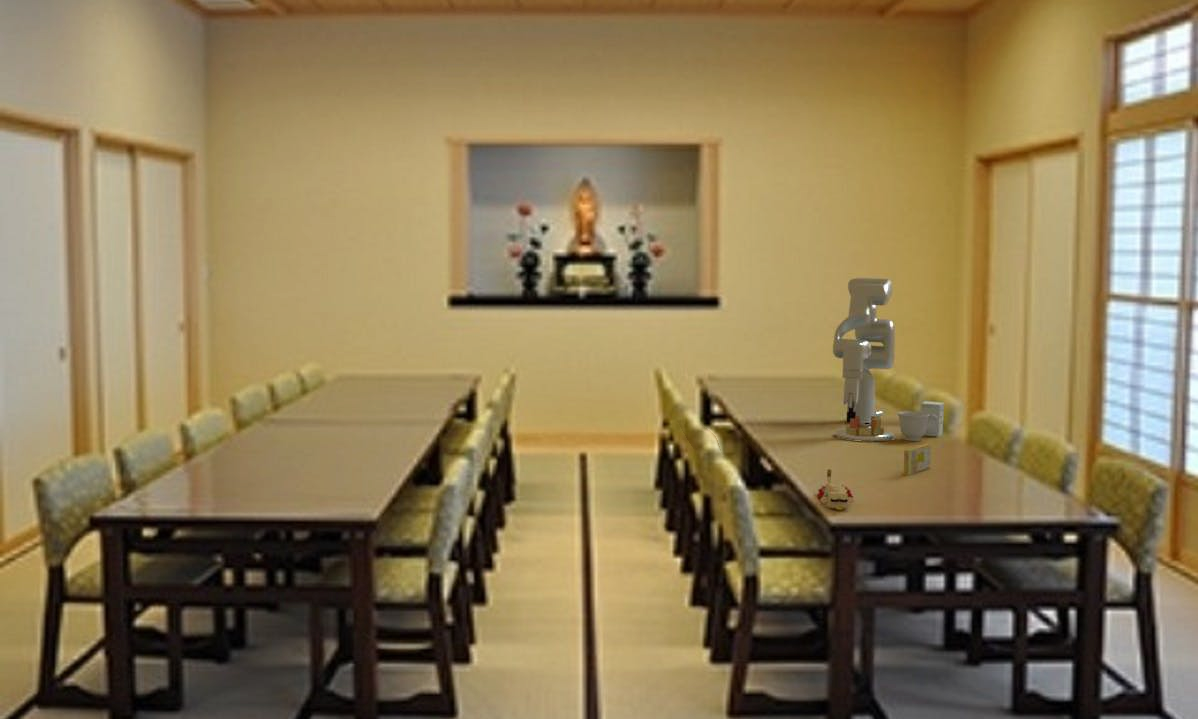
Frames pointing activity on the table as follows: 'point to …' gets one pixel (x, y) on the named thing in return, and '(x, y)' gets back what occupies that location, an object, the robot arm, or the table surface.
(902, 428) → the teacup
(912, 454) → the candy box
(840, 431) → the cap plate
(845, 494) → the cat figure
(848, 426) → the wooden block ring
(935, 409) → the supplement box
